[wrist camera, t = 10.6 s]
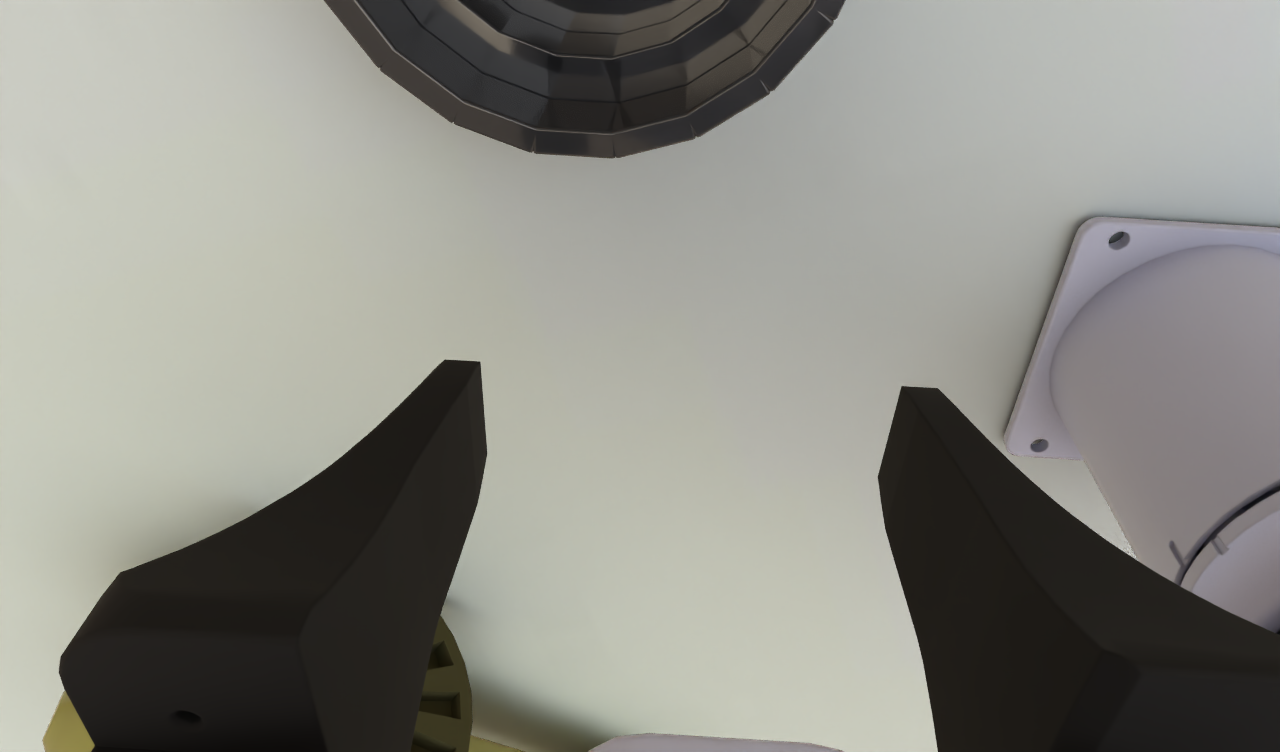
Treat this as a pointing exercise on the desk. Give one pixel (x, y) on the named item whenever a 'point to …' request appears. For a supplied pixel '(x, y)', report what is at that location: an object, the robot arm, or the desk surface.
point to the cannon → (440, 724)
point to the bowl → (587, 64)
